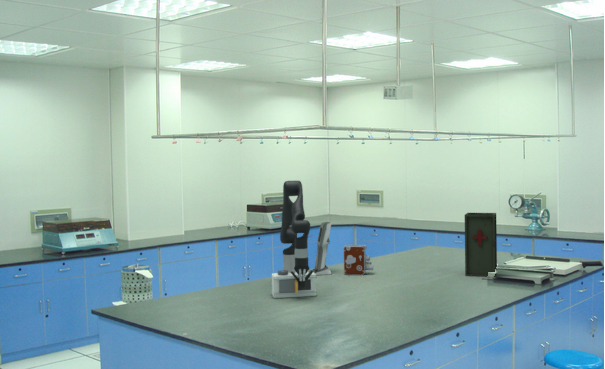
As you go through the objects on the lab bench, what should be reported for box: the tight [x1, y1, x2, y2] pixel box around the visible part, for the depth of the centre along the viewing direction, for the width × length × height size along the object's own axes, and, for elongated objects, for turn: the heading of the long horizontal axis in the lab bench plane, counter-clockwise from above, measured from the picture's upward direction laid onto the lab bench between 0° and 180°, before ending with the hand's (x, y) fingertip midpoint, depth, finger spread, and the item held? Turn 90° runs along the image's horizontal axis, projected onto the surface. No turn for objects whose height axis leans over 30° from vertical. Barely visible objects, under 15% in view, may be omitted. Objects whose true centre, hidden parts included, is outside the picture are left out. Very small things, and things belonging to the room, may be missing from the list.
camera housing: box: [271, 269, 318, 299], centre depth 318 cm, size 11×24×14 cm, turn 99°
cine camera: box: [343, 244, 374, 276], centre depth 378 cm, size 9×19×20 cm, turn 78°
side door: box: [279, 279, 298, 293], centre depth 310 cm, size 5×10×7 cm, turn 99°
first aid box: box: [464, 212, 498, 278], centre depth 370 cm, size 18×18×40 cm
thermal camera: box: [311, 221, 332, 276], centre depth 383 cm, size 12×13×35 cm
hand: (302, 287), depth 310 cm, fingers closed
